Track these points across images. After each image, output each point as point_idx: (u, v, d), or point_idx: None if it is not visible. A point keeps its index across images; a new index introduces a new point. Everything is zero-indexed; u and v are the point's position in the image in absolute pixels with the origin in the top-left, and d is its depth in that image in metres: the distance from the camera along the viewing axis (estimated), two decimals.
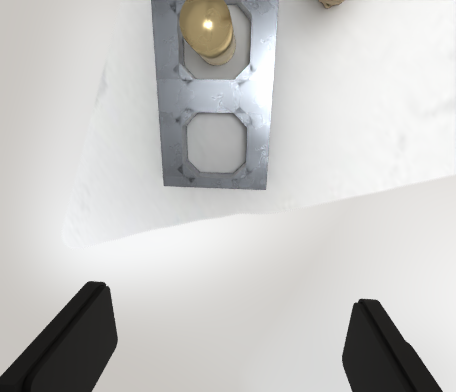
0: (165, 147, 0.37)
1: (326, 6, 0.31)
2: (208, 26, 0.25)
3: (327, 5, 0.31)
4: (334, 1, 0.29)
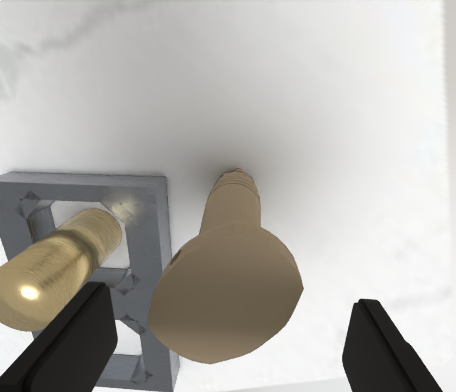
0: None
1: None
2: (22, 307, 0.17)
3: None
4: None
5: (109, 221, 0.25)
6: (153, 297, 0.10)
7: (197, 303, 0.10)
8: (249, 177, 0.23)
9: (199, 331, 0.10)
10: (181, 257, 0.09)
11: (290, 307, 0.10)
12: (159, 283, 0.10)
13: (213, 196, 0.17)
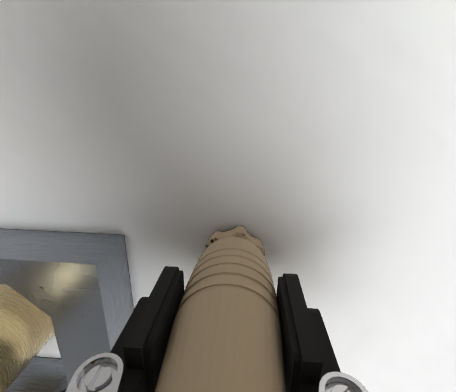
0: None
1: None
2: None
3: None
4: None
5: None
6: None
7: None
8: (256, 241, 0.14)
9: None
10: None
11: None
12: None
13: (184, 324, 0.08)
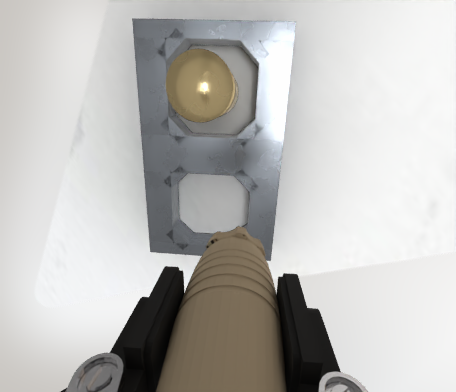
0: (152, 210, 0.31)
1: None
2: (203, 92, 0.19)
3: None
4: None
5: None
6: None
7: None
8: (257, 242, 0.14)
9: None
10: None
11: None
12: None
13: (184, 325, 0.08)
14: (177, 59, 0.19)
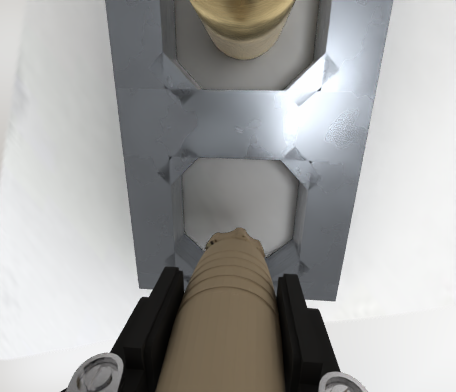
0: (139, 223, 0.18)
1: None
2: None
3: None
4: None
5: None
6: None
7: None
8: (256, 243, 0.14)
9: None
10: None
11: None
12: None
13: (183, 327, 0.08)
14: None
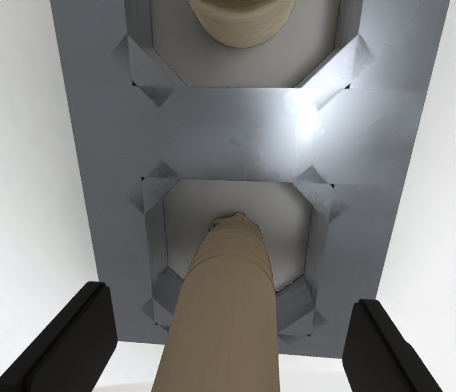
0: (105, 261, 0.14)
1: None
2: None
3: None
4: None
5: None
6: None
7: None
8: (255, 226, 0.15)
9: None
10: None
11: None
12: None
13: (191, 285, 0.09)
14: None
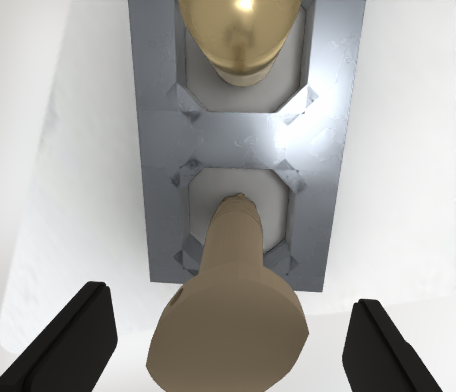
0: (152, 223, 0.21)
1: None
2: (247, 2, 0.10)
3: None
4: None
5: None
6: (152, 339, 0.10)
7: (199, 347, 0.09)
8: (251, 202, 0.23)
9: (200, 375, 0.10)
10: (182, 299, 0.09)
11: (295, 352, 0.09)
12: (159, 325, 0.09)
13: (215, 224, 0.17)
14: None
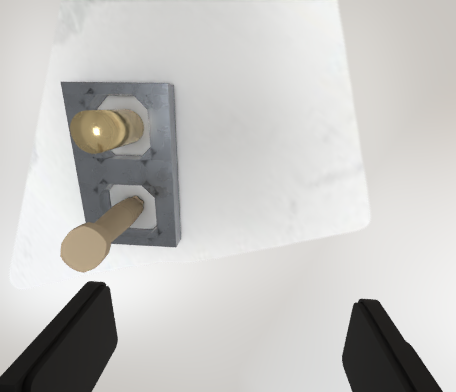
0: (87, 211, 0.42)
1: None
2: (93, 135, 0.31)
3: None
4: None
5: (136, 116, 0.39)
6: (61, 246, 0.30)
7: (75, 249, 0.30)
8: (140, 200, 0.43)
9: (78, 259, 0.31)
10: (68, 233, 0.30)
11: (104, 249, 0.30)
12: None
13: None
14: (75, 116, 0.30)
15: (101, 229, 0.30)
